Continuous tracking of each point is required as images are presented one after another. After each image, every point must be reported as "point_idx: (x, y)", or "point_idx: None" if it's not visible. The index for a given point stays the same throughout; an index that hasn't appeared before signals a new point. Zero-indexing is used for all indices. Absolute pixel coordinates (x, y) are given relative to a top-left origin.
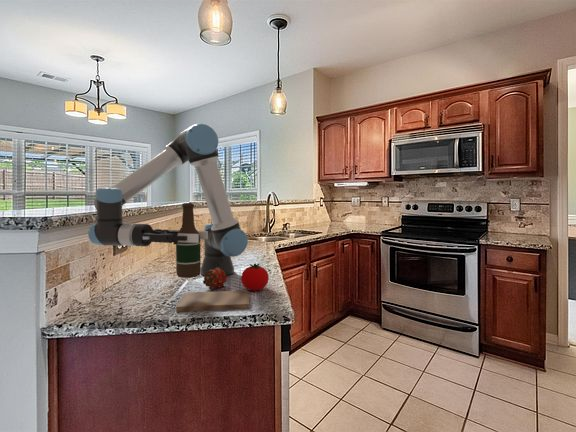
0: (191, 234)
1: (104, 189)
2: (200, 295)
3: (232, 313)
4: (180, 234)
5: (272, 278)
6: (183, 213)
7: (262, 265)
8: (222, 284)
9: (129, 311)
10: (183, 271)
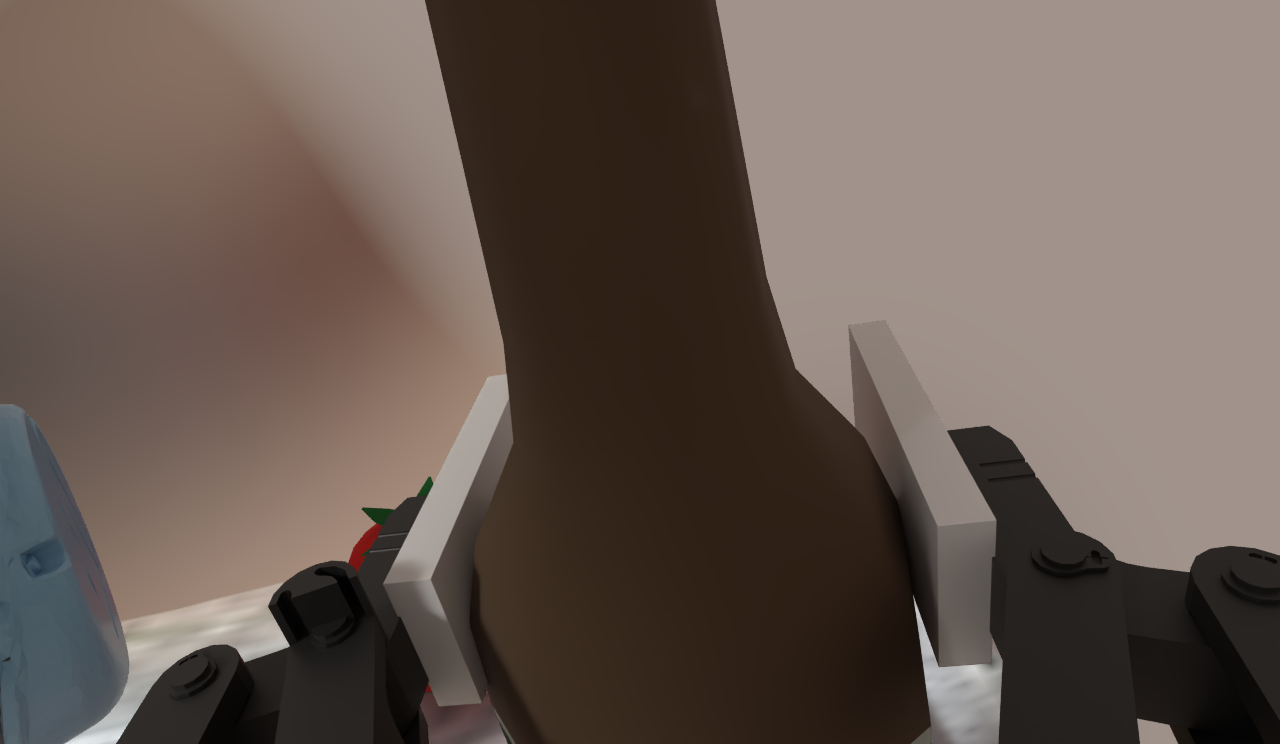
0: (910, 369)
1: None
2: None
3: (925, 638)
4: (973, 492)
5: (227, 624)
6: (692, 58)
7: (427, 483)
8: None
9: None
10: None
